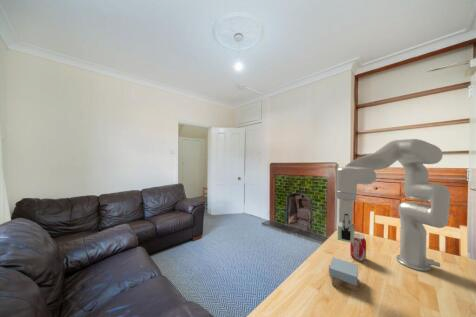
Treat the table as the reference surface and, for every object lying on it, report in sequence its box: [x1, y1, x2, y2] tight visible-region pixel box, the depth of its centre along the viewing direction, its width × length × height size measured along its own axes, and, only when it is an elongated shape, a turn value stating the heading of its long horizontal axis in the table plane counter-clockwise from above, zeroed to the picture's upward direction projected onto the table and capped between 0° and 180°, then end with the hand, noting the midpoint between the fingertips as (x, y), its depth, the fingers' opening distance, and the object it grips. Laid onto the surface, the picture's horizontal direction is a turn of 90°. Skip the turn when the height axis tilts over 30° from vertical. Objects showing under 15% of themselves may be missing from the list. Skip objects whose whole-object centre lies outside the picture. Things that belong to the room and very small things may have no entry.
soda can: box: [349, 233, 367, 262], centre depth 97 cm, size 7×7×12 cm
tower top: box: [328, 256, 359, 285], centre depth 79 cm, size 10×10×4 cm
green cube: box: [337, 221, 355, 243], centre depth 79 cm, size 6×6×6 cm
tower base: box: [328, 264, 361, 292], centre depth 79 cm, size 10×10×4 cm
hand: (345, 236), depth 79 cm, fingers closed on green cube, 6 cm apart
